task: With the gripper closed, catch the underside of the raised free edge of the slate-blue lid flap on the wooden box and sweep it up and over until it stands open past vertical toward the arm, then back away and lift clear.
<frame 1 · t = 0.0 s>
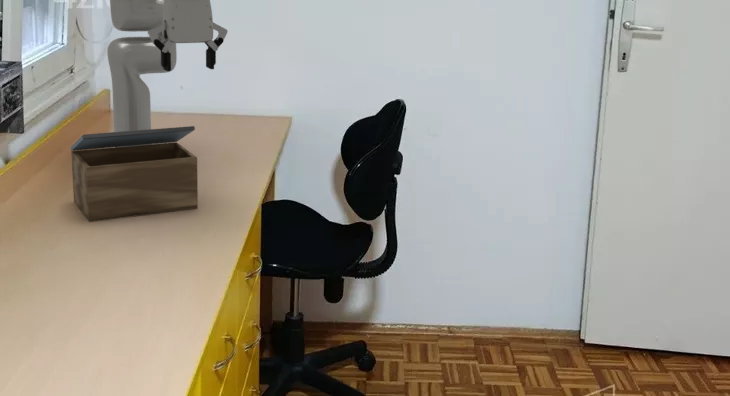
hand: (188, 69, 191), 31 cm above the table, tool pointing down, fingers open, 9 cm apart
wooden box: (135, 205, 199), on the table
lid flap: (132, 138, 195), point 15 cm above the table, hinge at 25.0°
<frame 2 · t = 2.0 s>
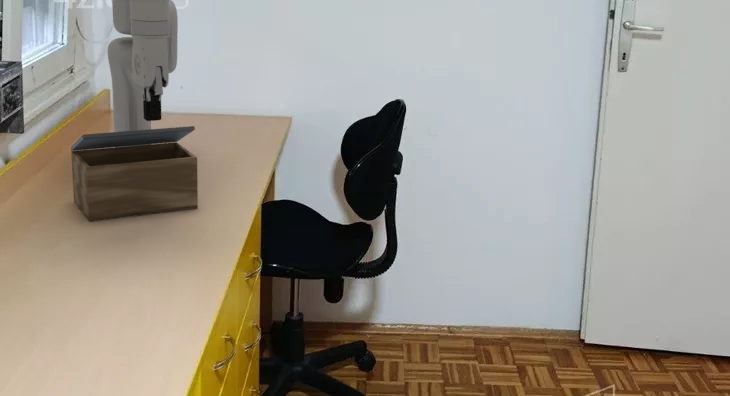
hand: (152, 119, 180), 23 cm above the table, tool pointing down, fingers closed
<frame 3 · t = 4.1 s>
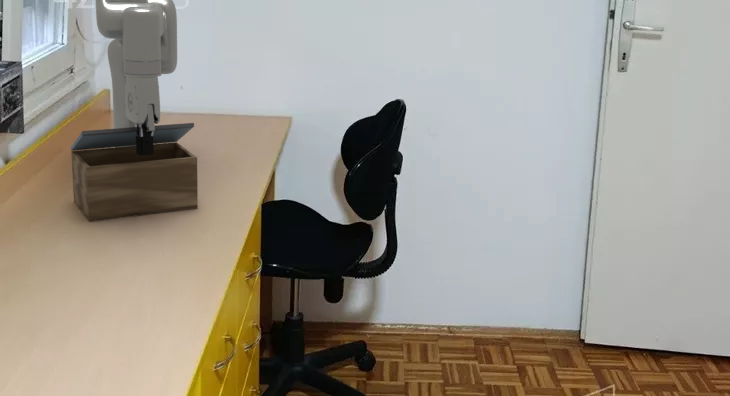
hand: (145, 154, 188), 14 cm above the table, tool pointing down, fingers closed
lid flap: (132, 136, 195), point 16 cm above the table, hinge at 28.1°, touching gripper
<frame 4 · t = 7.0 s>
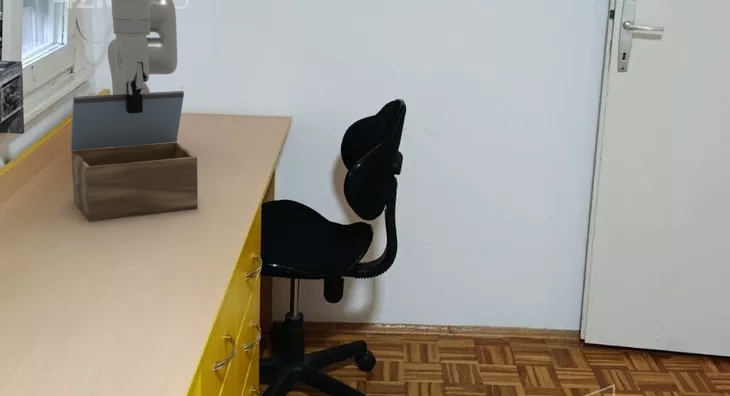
hand: (134, 112, 192), 22 cm above the table, tool pointing down, fingers closed
lid flap: (127, 120, 197), point 19 cm above the table, hinge at 65.7°, touching gripper
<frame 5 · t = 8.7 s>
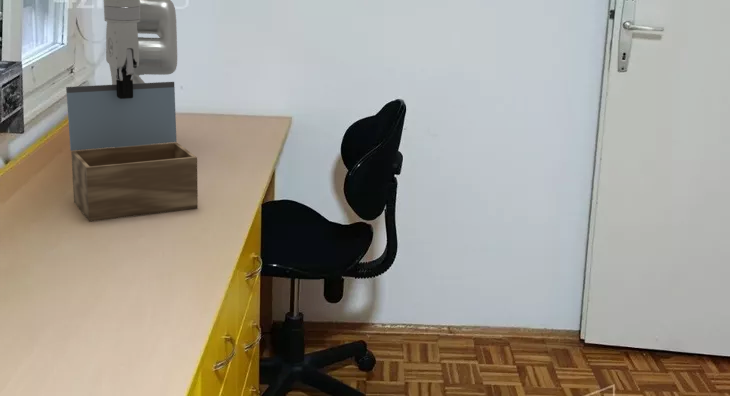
hand: (125, 97, 197), 23 cm above the table, tool pointing down, fingers closed
lid flap: (123, 115, 200), point 19 cm above the table, hinge at 94.0°, touching gripper
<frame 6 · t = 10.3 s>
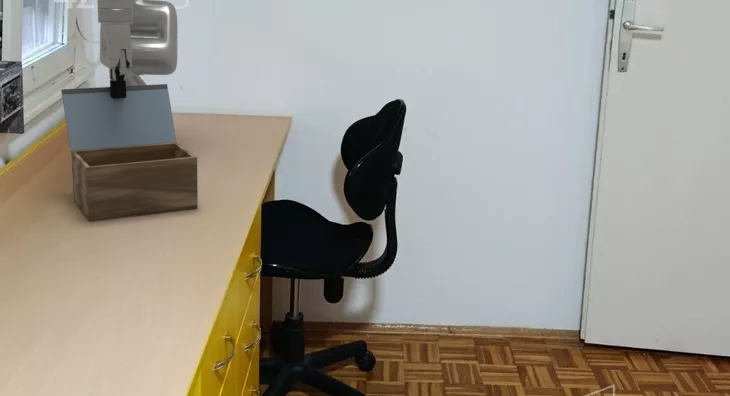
hand: (118, 97, 202), 22 cm above the table, tool pointing down, fingers closed
lid flap: (120, 116, 202), point 18 cm above the table, hinge at 116.7°, touching gripper
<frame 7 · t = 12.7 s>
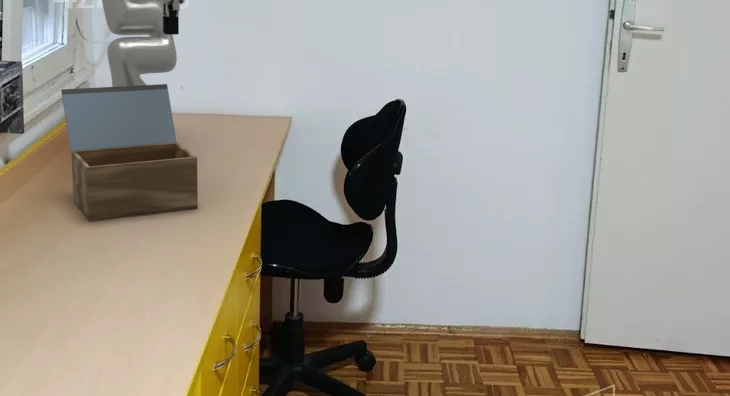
hand: (170, 33, 202), 37 cm above the table, tool pointing down, fingers closed
lid flap: (120, 116, 202), point 18 cm above the table, hinge at 116.8°
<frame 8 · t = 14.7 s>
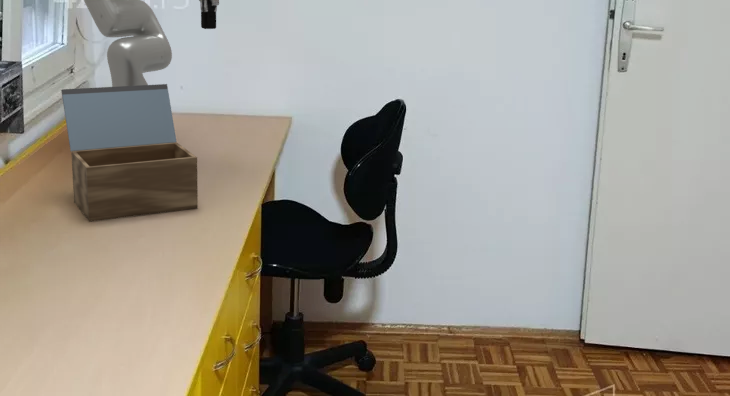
hand: (208, 28, 211), 37 cm above the table, tool pointing down, fingers closed
at the end: lid flap at +117° (first picture: +25°) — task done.
